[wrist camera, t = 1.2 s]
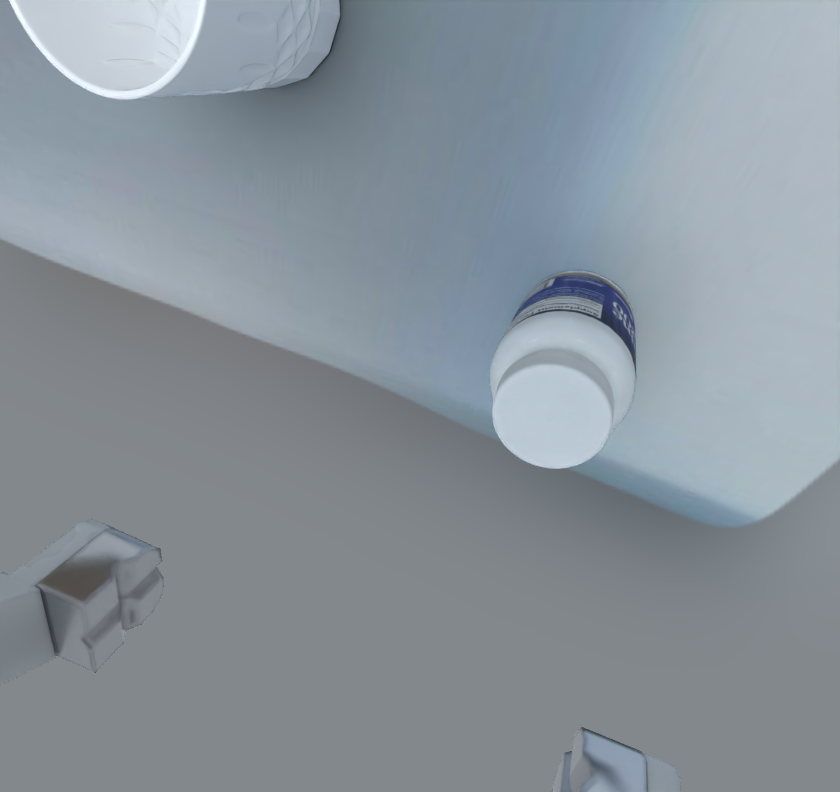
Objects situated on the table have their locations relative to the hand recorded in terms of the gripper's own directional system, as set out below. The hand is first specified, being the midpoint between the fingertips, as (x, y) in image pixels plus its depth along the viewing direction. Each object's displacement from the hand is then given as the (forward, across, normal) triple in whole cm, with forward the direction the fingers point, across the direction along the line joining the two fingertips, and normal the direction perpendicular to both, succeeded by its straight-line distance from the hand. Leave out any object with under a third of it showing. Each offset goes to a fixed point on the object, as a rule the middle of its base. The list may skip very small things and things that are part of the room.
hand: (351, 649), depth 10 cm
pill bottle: (+21, -2, 0) cm, 21 cm away
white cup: (+21, +14, -10) cm, 27 cm away
